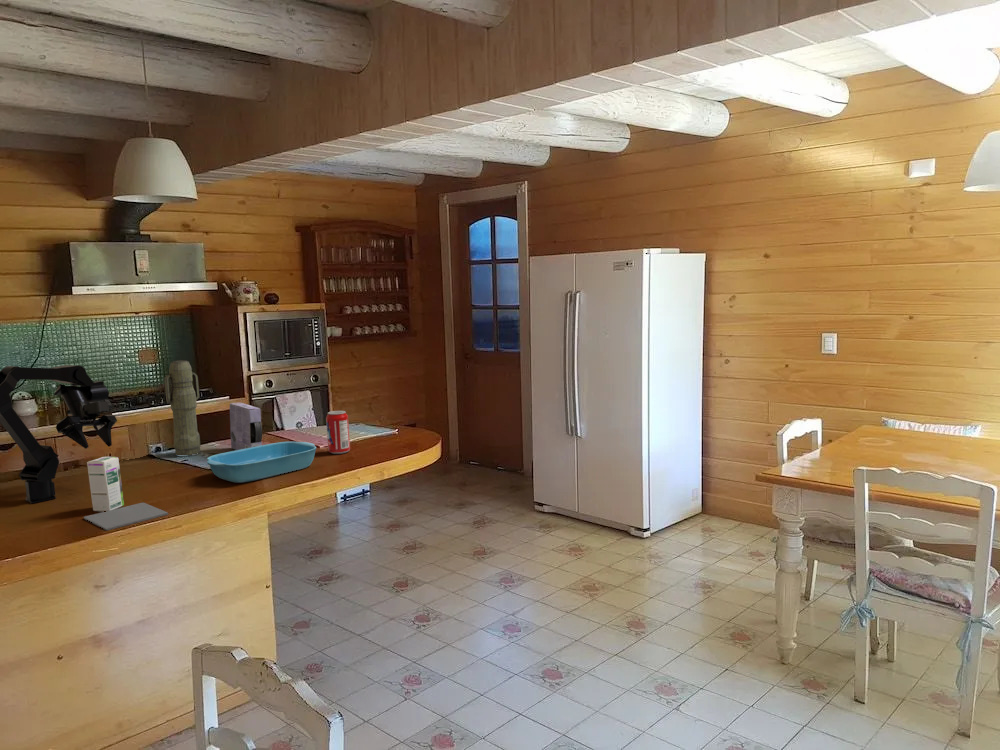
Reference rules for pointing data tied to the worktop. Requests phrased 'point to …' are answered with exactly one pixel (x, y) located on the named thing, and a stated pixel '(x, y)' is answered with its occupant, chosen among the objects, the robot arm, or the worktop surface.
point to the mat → (125, 516)
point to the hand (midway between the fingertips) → (98, 446)
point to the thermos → (183, 406)
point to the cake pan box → (245, 426)
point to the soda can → (338, 432)
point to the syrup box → (105, 483)
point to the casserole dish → (262, 461)
